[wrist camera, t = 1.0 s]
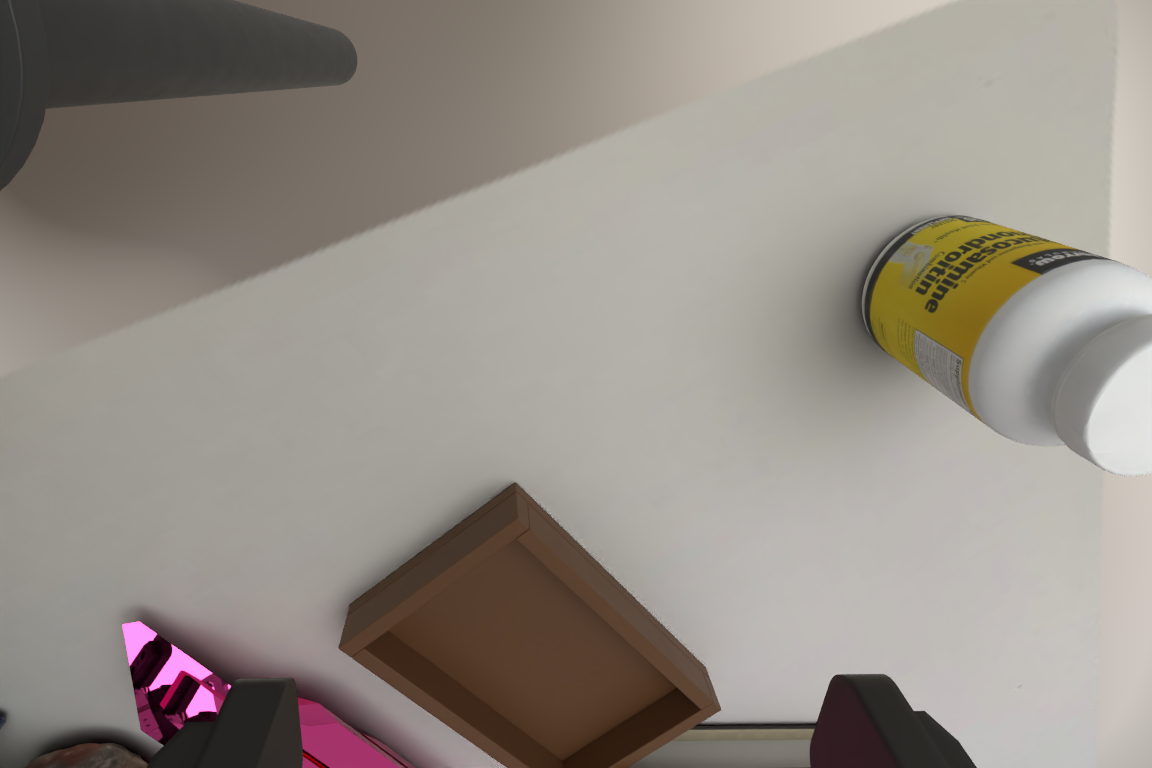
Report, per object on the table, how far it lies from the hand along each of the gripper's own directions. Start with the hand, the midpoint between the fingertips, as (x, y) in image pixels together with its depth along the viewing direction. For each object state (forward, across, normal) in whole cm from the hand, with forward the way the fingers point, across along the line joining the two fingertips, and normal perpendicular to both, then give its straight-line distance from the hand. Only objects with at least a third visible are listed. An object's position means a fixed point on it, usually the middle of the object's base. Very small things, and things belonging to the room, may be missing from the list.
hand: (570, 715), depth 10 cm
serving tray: (+20, -2, +18) cm, 27 cm away
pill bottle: (+20, -17, -2) cm, 26 cm away
